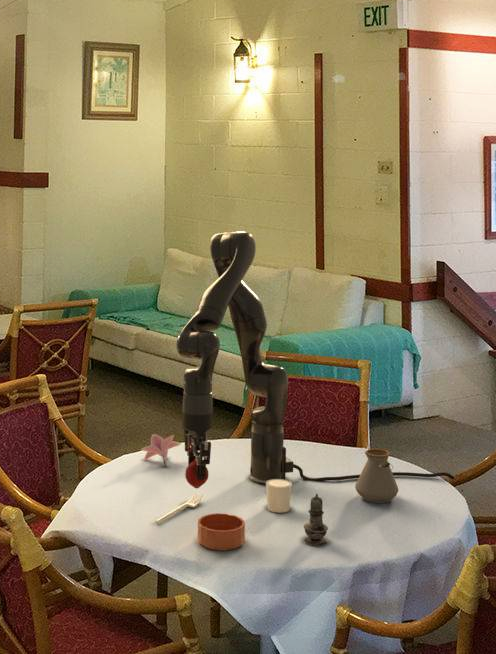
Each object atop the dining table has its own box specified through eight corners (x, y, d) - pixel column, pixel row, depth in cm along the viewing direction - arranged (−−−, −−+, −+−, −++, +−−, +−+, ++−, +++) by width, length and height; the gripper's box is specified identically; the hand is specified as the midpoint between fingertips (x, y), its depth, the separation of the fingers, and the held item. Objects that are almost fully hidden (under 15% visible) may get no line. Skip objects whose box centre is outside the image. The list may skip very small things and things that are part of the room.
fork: (150, 522, 244) (151, 515, 243) (194, 499, 260) (194, 492, 260) (161, 525, 242) (161, 518, 241) (204, 502, 258) (204, 495, 258)
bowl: (234, 530, 239) (234, 511, 238) (251, 548, 228) (252, 528, 228) (191, 535, 236) (191, 515, 235) (207, 554, 225) (207, 533, 224)
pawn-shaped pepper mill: (309, 534, 237) (311, 487, 235) (331, 540, 233) (333, 492, 232) (298, 542, 232) (300, 494, 230) (321, 548, 229) (322, 499, 227)
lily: (187, 463, 292) (179, 432, 295) (181, 460, 281) (172, 428, 284) (149, 474, 293) (141, 443, 296) (142, 471, 282) (134, 439, 285)
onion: (206, 493, 239) (206, 462, 238) (183, 491, 240) (183, 460, 239) (209, 485, 244) (210, 454, 243) (187, 483, 246) (187, 453, 245)
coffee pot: (351, 490, 267) (353, 437, 265) (393, 491, 267) (395, 438, 265) (364, 519, 246) (366, 463, 244) (409, 520, 246) (412, 464, 244)
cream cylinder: (274, 515, 249) (275, 489, 248) (260, 506, 255) (260, 480, 254) (296, 510, 252) (297, 485, 251) (281, 502, 258) (282, 477, 257)
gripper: (221, 416, 234) (220, 483, 236) (202, 401, 247) (201, 464, 250) (192, 418, 232) (191, 485, 234) (174, 403, 245) (173, 467, 247)
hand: (196, 474), depth 242 cm, fingers closed on onion, 6 cm apart
